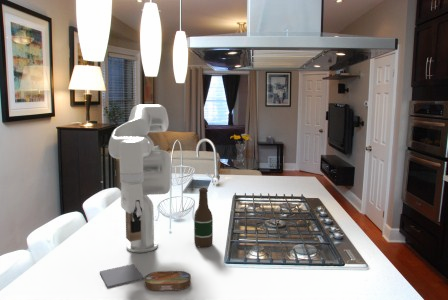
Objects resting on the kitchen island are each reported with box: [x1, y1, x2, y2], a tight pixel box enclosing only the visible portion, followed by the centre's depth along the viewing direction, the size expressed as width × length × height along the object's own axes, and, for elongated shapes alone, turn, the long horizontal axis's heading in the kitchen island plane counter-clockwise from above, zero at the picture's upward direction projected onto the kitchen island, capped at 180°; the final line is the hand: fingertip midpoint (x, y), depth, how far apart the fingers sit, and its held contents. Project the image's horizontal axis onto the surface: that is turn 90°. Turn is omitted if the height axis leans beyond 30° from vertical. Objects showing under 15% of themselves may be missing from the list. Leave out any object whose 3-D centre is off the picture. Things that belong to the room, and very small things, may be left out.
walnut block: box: [125, 208, 141, 242], centre depth 124 cm, size 4×4×11 cm
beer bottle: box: [193, 187, 214, 249], centre depth 151 cm, size 8×8×24 cm
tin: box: [143, 270, 192, 292], centre depth 119 cm, size 15×3×8 cm
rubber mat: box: [99, 263, 145, 289], centre depth 125 cm, size 12×12×1 cm
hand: (133, 229), depth 124 cm, fingers closed on walnut block, 4 cm apart
